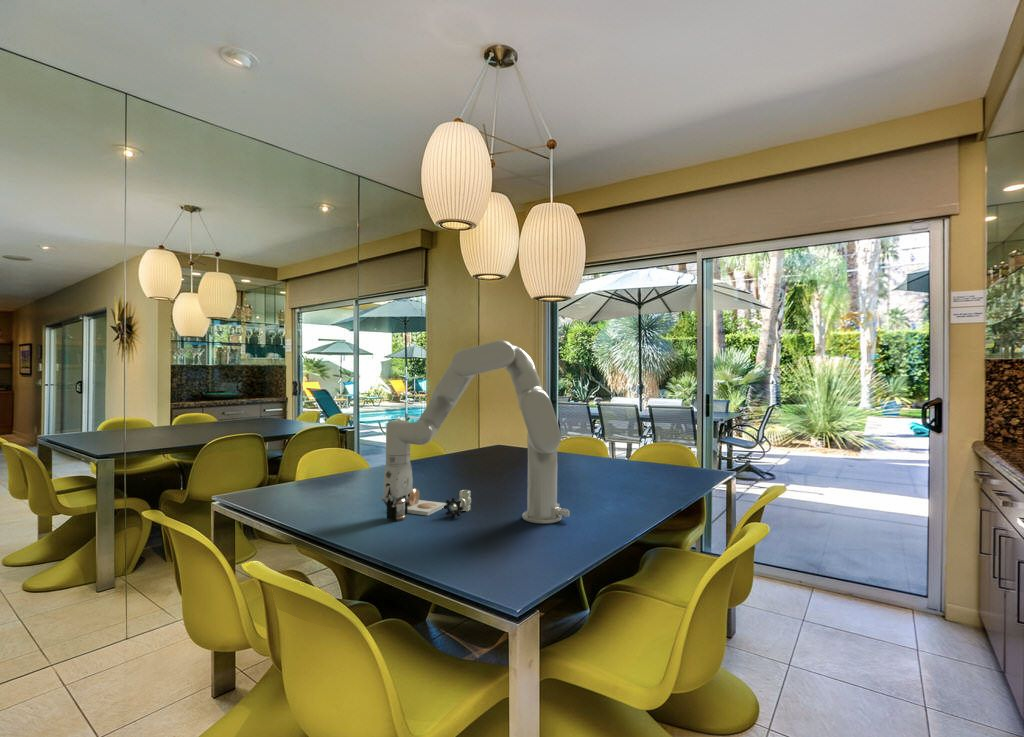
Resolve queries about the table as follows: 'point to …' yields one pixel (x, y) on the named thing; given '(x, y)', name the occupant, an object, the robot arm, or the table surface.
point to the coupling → (400, 508)
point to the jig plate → (425, 507)
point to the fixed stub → (414, 497)
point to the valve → (459, 503)
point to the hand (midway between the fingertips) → (397, 516)
